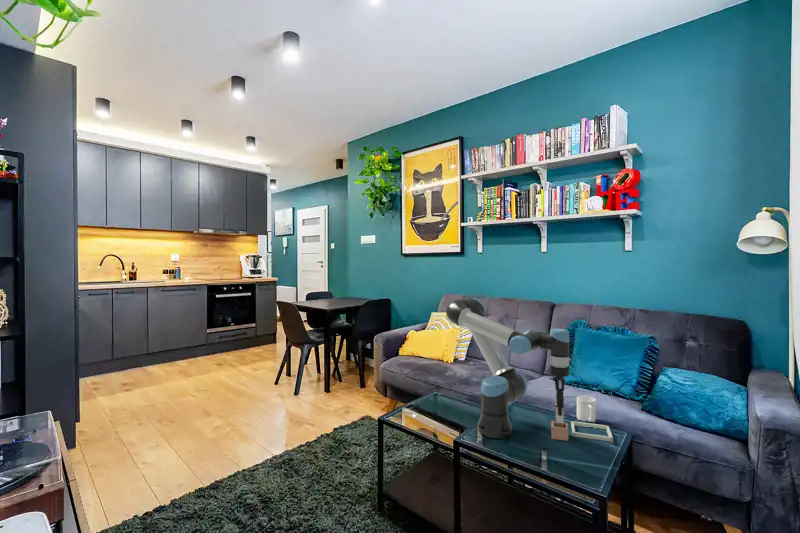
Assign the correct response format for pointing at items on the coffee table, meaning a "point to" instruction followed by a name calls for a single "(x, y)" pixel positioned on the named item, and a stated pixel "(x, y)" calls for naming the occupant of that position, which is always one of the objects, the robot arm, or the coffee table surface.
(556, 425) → the pin
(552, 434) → the holder
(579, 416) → the cup
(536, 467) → the coffee table surface
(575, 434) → the tray
